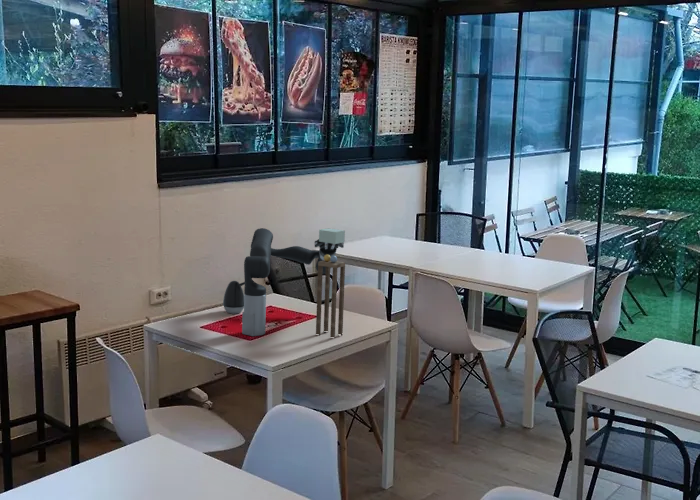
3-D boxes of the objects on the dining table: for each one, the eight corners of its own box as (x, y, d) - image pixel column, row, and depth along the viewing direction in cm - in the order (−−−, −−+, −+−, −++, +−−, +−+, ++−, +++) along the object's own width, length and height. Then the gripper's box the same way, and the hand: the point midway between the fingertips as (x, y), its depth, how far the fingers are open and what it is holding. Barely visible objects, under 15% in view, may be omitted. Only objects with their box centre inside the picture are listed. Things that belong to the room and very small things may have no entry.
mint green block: (335, 243, 329) (335, 232, 328) (307, 239, 337) (307, 228, 336) (356, 240, 341) (356, 228, 340) (328, 236, 349) (328, 224, 348)
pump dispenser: (247, 314, 367) (248, 282, 364) (225, 315, 363) (226, 283, 360) (242, 309, 376) (242, 278, 373) (220, 310, 372) (221, 278, 369)
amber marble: (328, 262, 331) (327, 255, 330) (322, 262, 333) (321, 255, 332) (332, 260, 333) (331, 253, 333) (327, 260, 335) (325, 253, 335)
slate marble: (335, 262, 329) (332, 255, 329) (331, 264, 331) (327, 258, 330) (339, 259, 331) (336, 253, 331) (335, 262, 333) (331, 256, 333)
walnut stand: (332, 339, 332) (335, 264, 327) (315, 335, 337) (318, 261, 331) (342, 335, 338) (345, 262, 332) (325, 331, 343) (327, 259, 337)
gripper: (312, 242, 356) (314, 228, 339) (342, 243, 357) (346, 229, 341) (312, 258, 353) (314, 244, 337) (342, 258, 355) (346, 245, 338)
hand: (330, 237), depth 339 cm, fingers closed on mint green block
